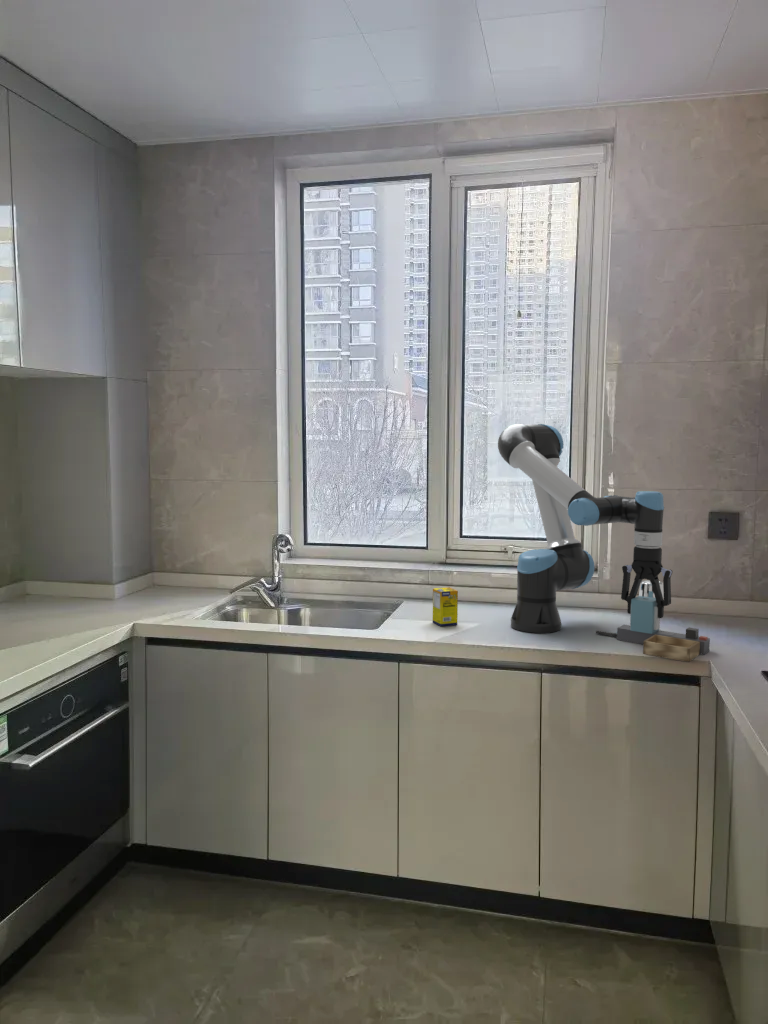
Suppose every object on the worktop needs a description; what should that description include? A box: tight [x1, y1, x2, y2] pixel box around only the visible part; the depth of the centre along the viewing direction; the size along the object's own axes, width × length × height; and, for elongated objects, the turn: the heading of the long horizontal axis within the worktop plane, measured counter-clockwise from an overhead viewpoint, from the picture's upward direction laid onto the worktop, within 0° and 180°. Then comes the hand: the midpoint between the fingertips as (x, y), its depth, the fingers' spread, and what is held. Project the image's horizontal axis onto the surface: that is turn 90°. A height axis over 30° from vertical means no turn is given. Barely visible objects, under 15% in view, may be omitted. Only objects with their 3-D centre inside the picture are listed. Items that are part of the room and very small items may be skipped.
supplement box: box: [432, 587, 459, 627], centre depth 238 cm, size 6×6×11 cm
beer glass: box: [638, 579, 664, 630], centre depth 229 cm, size 7×7×15 cm
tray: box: [642, 635, 701, 663], centre depth 205 cm, size 12×9×4 cm
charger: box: [630, 595, 659, 634], centre depth 217 cm, size 6×6×12 cm
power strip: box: [595, 624, 711, 656], centre depth 216 cm, size 32×5×6 cm, turn 52°
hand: (644, 626), depth 217 cm, fingers closed on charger, 6 cm apart
